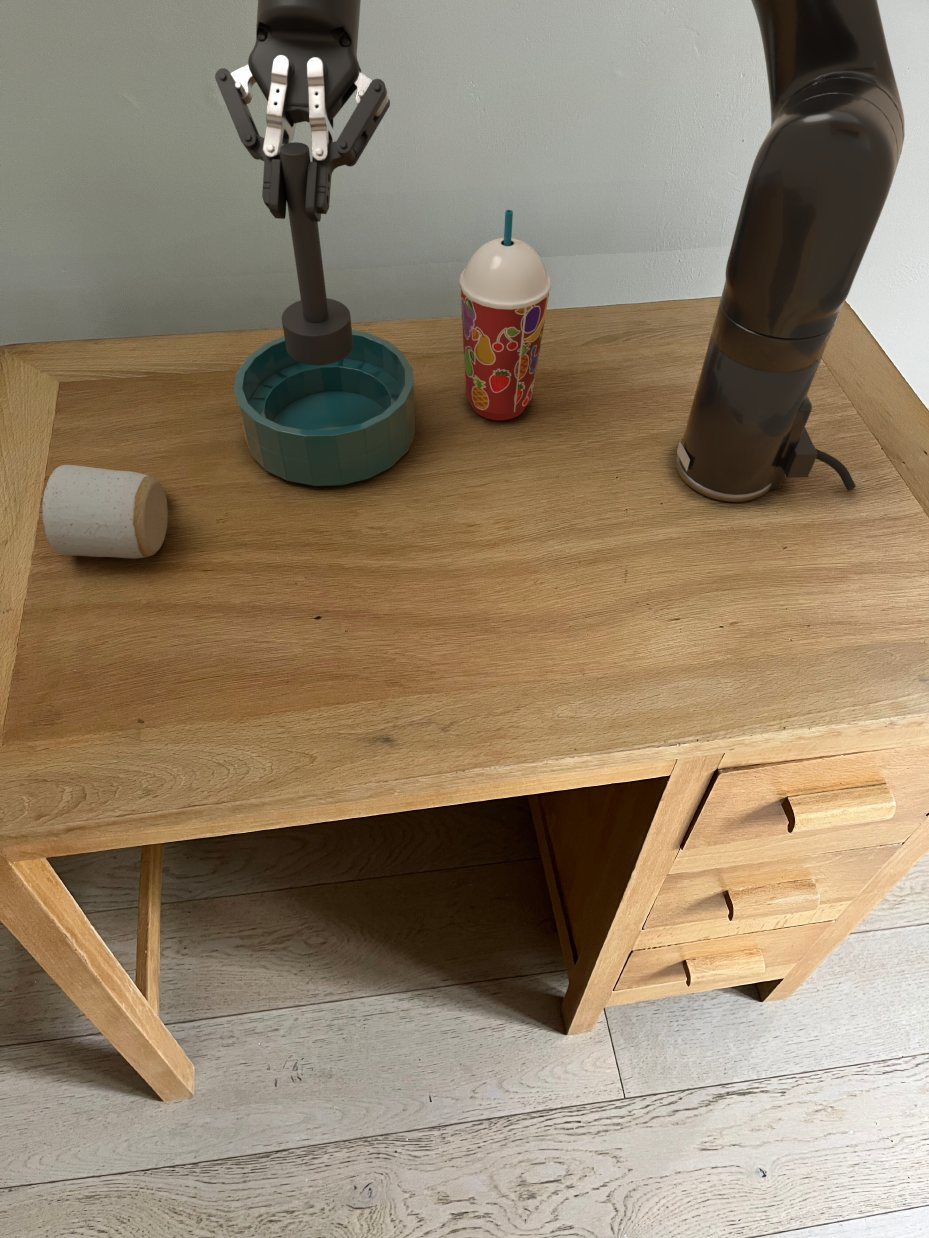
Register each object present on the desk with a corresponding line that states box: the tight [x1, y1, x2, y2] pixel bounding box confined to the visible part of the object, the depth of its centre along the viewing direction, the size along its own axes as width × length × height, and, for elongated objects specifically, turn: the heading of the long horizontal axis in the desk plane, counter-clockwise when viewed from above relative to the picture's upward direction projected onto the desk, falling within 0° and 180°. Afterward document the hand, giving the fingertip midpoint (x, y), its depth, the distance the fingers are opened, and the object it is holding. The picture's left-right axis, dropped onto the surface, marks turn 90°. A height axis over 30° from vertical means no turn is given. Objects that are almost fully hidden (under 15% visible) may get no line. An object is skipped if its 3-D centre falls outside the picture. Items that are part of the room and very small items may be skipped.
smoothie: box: [458, 209, 552, 421], centre depth 81 cm, size 8×8×20 cm
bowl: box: [233, 329, 416, 487], centre depth 83 cm, size 17×17×6 cm
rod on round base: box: [280, 141, 353, 365], centre depth 71 cm, size 6×6×17 cm
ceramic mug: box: [41, 464, 169, 559], centre depth 73 cm, size 11×8×8 cm
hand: (295, 215), depth 66 cm, fingers closed on rod on round base
